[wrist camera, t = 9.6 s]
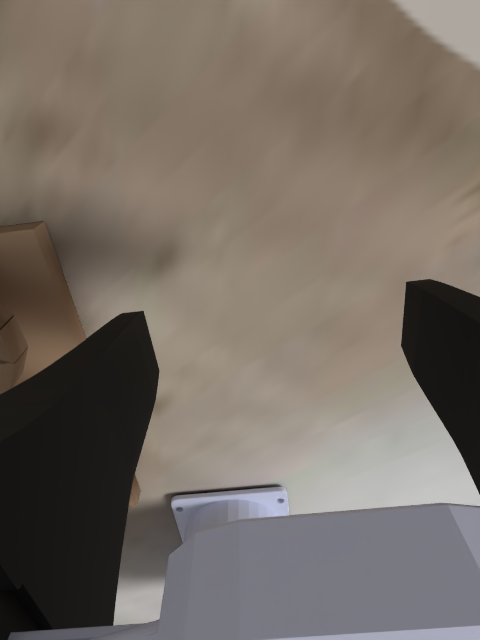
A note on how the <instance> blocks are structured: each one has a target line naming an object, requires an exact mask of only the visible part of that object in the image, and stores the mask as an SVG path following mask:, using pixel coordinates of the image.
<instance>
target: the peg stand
mask: <svg viewBox="0 0 480 640" xmlns="http://www.w3.org/2000/svg"><path fill="white" fill-rule="evenodd" d="M84 340H86V336H85V334H84V331H83V328H82V325H81V322H80V320H79V317H78V314H77V311H76V308H75V306H74V303H73V300H72V297H71V294H70V292H69V289H68V286H67V283H66V280H65V278H64V275H63V272H62V269H61V266H60V264H59V261H58V258H57V255H56V252H55V250H54V247H53V244H52V241H51V238H50V236H49V233H48V230H47V227H46V224H45V222H44V221H43V222H35V223H27V224H19V225H11V226H3V227H0V394H2V393H4V392H6V391H8V390H9V389H11V388H13V387H15V386H17V385H18V384H20V383H22V382H24V381H25V380H27V379H29V378H31V377H32V376H34V375H35V374H37V373H39V372H40V371H42V370H43V369H45V368H46V367H48V366H49V365H51V364H52V363H54V362H55V361H56V360H58V359H59V358H61V357H62V356H64V355H65V354H66V353H68V352H69V351H71V350H72V349H74V348H75V347H76V346H78V345H79V344H80V343H82V342H83V341H84ZM139 495H140V488H139V485H138V482H137V479H136V477H135V475H134V479H133V484H132V489H131V495H130V501H129V507H132V506H137V504H138V500H139Z"/></svg>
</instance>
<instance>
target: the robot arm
mask: <svg viewBox="0 0 480 640" xmlns="http://www.w3.org/2000/svg"><path fill="white" fill-rule="evenodd" d="M401 346H402V349H403V352H404V354H405V357H406V359H407V362H408V364H409V366H410V369H411V371H412V373H413V375H414V377H415V379H416V380H417V382H418V384H419V385H420V387H421V389H422V390H423V392H424V394H425V395H426V397H427V399H428V400H429V402H430V403H431V405H432V407H433V408H434V410H435V411H436V413H437V415H438V416H439V418H440V420H441V421H442V423H443V424H444V426H445V428H446V429H447V431H448V432H449V434H450V436H451V437H452V439H453V441H454V442H455V444H456V446H457V448H458V450H459V451H460V453H461V455H462V457H463V459H464V462H465V464H466V466H467V468H468V470H469V472H470V474H471V476H472V479H473V481H474V483H475V485H476V487H477V489H478V492H479V494H480V297H478V296H476V295H473V294H471V293H468V292H466V291H463V290H460V289H458V288H455V287H453V286H450V285H447V284H444V283H442V282H438V281H435V280H431V279H427V280H418V281H409V282H406V292H405V305H404V317H403V330H402V342H401ZM158 378H159V367H158V364H157V360H156V356H155V352H154V349H153V345H152V341H151V337H150V334H149V330H148V326H147V323H146V319H145V315H144V311H139V312H130V313H122V314H120V315H118V316H117V317H115V318H114V319H112V320H111V321H109V322H108V323H107V324H105V325H104V326H103V327H101V328H100V329H99V330H97V331H96V332H95V333H93V334H92V335H91V336H90V337H88V338H87V339H86V340H84V341H83V342H82V343H80V344H79V345H78V346H76V347H75V348H74V349H72V350H71V351H69V352H68V353H66V354H65V355H64V356H62V357H61V358H59V359H58V360H56V361H55V362H54V363H52V364H51V365H49V366H48V367H46V368H45V369H43V370H42V371H40V372H39V373H37V374H35V375H34V376H32V377H31V378H29V379H27V380H25V381H24V382H22V383H20V384H18V385H17V386H15V387H13V388H11V389H9V390H8V391H6V392H4V393H2V394H0V640H480V506H471V505H460V504H450V503H435V504H423V505H410V506H398V507H386V508H373V509H361V510H349V511H336V512H324V513H312V514H300V515H289V509H288V499H287V491H286V489H285V488H283V487H271V488H259V489H247V490H236V491H224V492H212V493H200V494H189V495H177V496H174V497H173V498H172V499H171V507H172V510H173V513H174V516H175V520H176V523H177V526H178V529H179V532H180V536H181V539H182V542H183V544H182V545H181V546H180V547H178V548H177V549H176V550H175V551H174V552H173V553H171V554H170V555H169V558H168V565H167V572H166V579H165V586H164V593H163V599H162V606H161V613H160V620H156V621H153V622H149V623H144V624H129V625H115V626H113V621H114V611H115V601H116V593H117V585H118V577H119V569H120V560H121V553H122V546H123V539H124V532H125V526H126V519H127V513H128V507H129V501H130V495H131V489H132V484H133V479H134V475H135V471H136V467H137V463H138V460H139V456H140V453H141V450H142V446H143V443H144V439H145V436H146V432H147V429H148V426H149V422H150V418H151V415H152V411H153V408H154V404H155V400H156V394H157V387H158Z"/></svg>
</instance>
